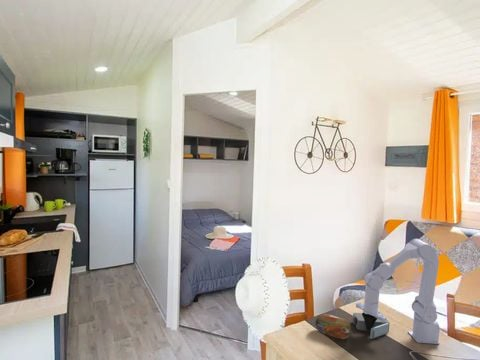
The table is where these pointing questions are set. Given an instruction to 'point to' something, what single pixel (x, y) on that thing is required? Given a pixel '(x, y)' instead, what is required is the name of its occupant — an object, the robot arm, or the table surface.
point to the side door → (379, 330)
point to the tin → (333, 326)
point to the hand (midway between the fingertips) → (369, 329)
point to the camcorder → (360, 322)
